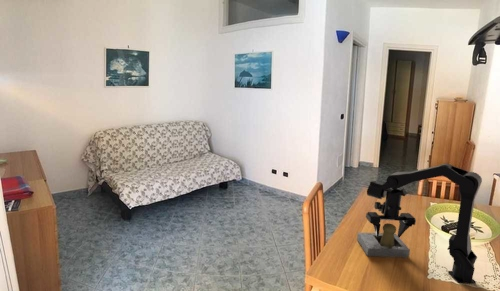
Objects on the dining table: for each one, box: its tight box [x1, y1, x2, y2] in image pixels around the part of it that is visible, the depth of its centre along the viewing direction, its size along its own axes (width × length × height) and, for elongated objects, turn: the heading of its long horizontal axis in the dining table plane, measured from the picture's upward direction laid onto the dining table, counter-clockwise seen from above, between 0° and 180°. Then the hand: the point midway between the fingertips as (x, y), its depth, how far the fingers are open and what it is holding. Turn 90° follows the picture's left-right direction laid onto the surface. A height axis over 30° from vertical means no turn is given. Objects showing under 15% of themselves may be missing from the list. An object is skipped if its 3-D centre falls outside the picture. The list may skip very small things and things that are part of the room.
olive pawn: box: [379, 223, 397, 247], centre depth 133 cm, size 6×6×11 cm
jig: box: [356, 232, 411, 258], centre depth 134 cm, size 13×17×4 cm
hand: (387, 236), depth 134 cm, fingers open, 9 cm apart
